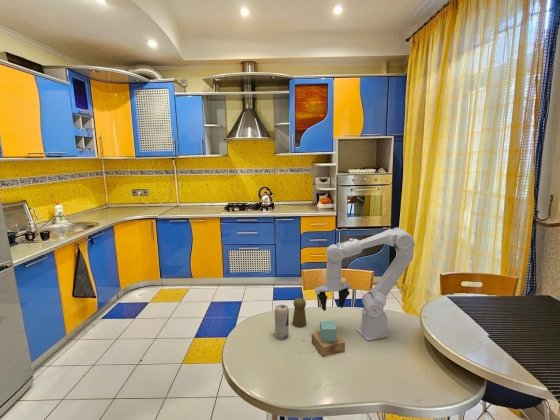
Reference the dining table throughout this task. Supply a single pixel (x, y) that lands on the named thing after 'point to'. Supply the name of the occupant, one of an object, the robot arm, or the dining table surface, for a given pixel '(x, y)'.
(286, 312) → the energy drink
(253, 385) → the dining table surface
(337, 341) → the walnut block
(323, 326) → the teal cube
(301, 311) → the cork
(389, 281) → the robot arm
